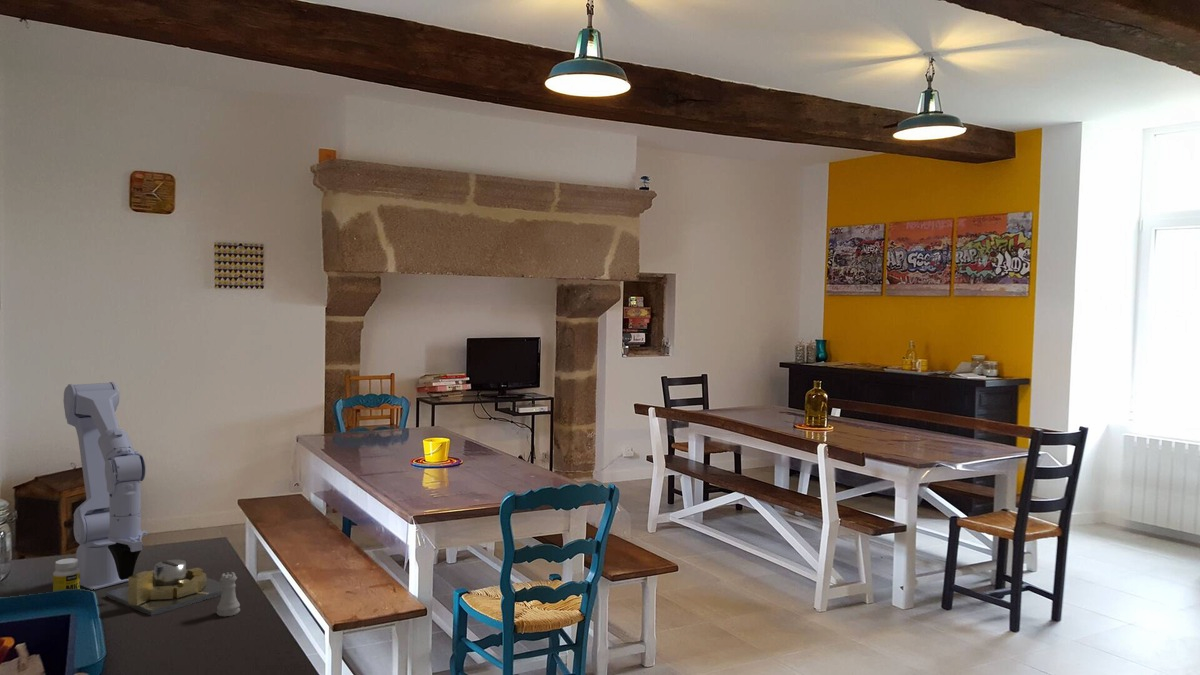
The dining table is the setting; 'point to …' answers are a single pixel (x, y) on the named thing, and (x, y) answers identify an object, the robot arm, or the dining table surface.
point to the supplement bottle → (66, 574)
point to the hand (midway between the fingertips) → (125, 578)
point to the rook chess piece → (228, 596)
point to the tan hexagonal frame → (146, 590)
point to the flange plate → (167, 602)
